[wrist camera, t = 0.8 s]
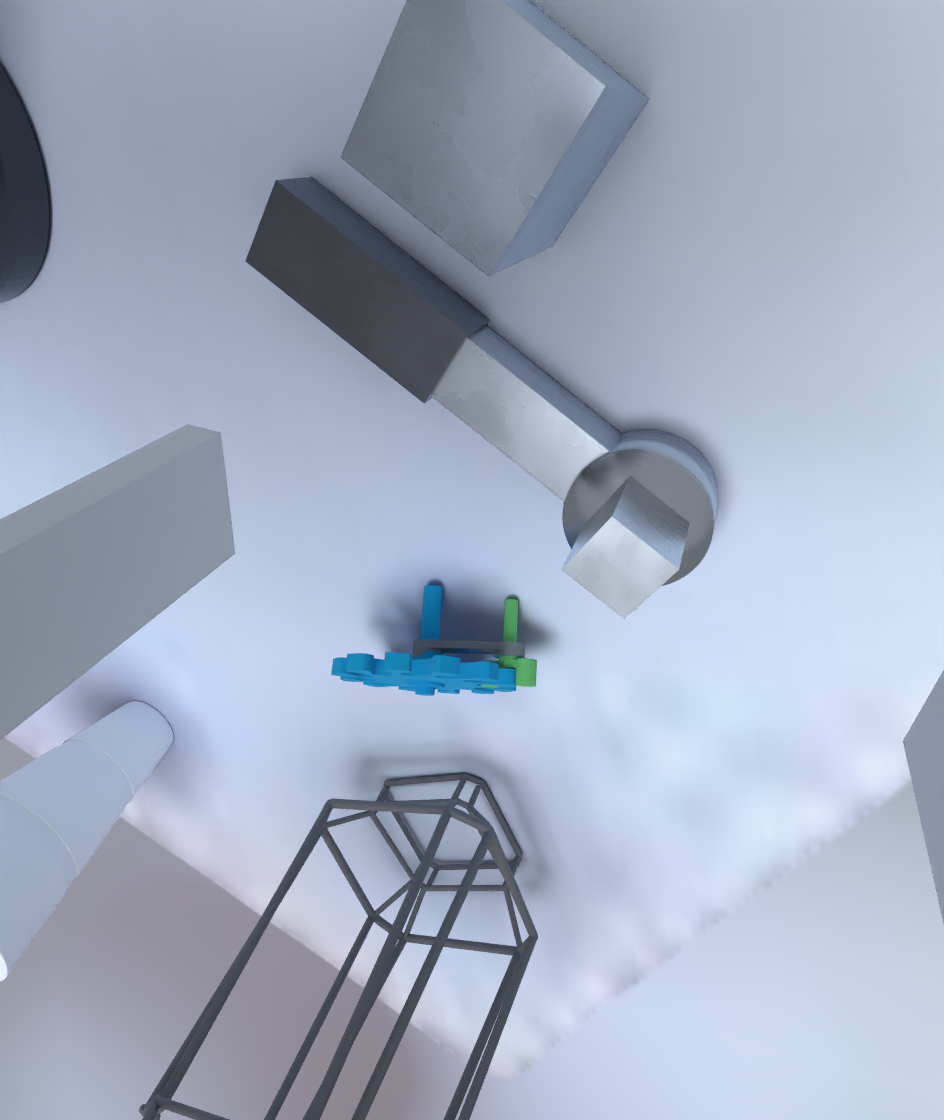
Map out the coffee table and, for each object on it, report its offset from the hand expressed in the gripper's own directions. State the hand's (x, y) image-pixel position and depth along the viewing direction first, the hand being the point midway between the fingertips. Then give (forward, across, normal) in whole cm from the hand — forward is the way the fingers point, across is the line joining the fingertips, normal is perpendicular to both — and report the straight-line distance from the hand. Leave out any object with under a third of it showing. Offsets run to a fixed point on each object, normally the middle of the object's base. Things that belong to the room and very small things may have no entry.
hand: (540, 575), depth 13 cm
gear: (+21, -8, -19) cm, 29 cm away
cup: (+21, -33, -37) cm, 54 cm away
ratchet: (+21, -7, -4) cm, 22 cm away
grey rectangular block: (+21, -6, +6) cm, 23 cm away
